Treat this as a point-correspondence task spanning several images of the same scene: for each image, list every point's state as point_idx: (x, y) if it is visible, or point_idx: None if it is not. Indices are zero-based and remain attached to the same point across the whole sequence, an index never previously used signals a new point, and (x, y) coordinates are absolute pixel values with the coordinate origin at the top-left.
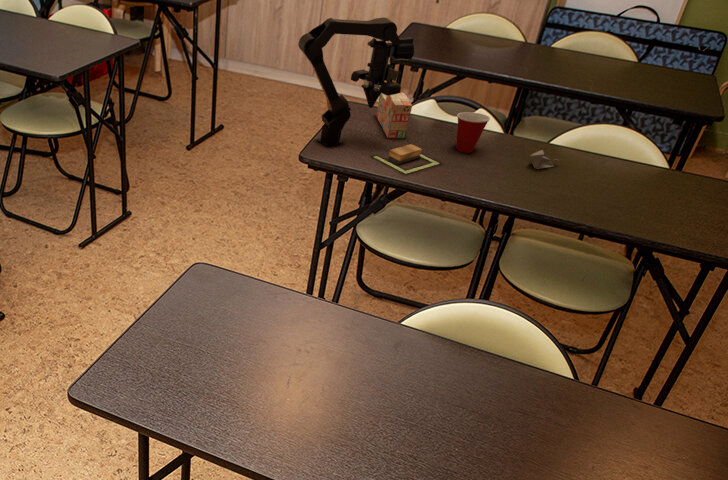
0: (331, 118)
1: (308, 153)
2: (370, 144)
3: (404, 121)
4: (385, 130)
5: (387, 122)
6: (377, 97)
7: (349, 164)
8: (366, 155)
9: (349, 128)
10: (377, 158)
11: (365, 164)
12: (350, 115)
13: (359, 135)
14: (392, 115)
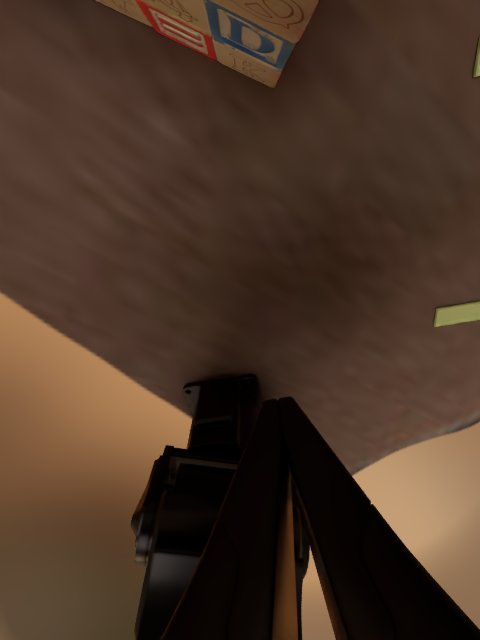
0: (168, 473)
1: None
2: (309, 261)
3: None
4: (169, 30)
5: (166, 4)
6: (397, 550)
7: (421, 423)
8: (400, 340)
9: (80, 257)
10: (462, 320)
11: (460, 381)
12: (298, 514)
13: (183, 255)
14: (300, 6)
